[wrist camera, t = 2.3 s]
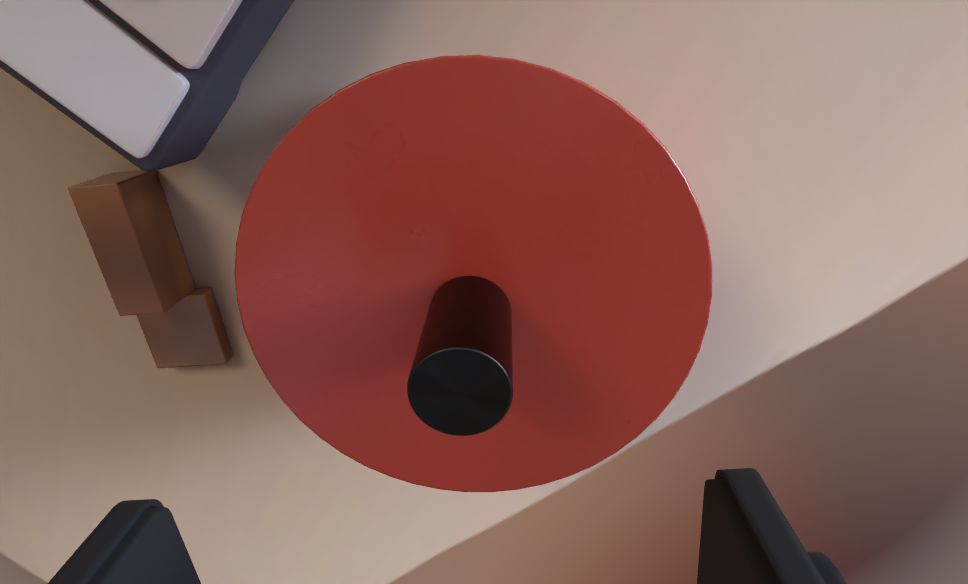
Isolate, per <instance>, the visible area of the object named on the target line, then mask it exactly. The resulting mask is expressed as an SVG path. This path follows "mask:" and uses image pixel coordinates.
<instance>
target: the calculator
mask: <svg viewBox="0 0 968 584" xmlns="http://www.w3.org/2000/svg"><path fill="white" fill-rule="evenodd" d="M292 2H293V0H0V67H1V68H2V69H3V70H5V71H6V72H7V73H9V74H10V75H12V76H13V77H14V78H16V79H17V80H19V81H20V82H21V83H23V84H24V85H25V86H27V87H28V88H30V89H31V90H32V91H34V92H35V93H36V94H38V95H39V96H41V97H42V98H43V99H45V100H46V101H48V102H49V103H50V104H52V105H53V106H54V107H56V108H57V109H59V110H60V111H61V112H63V113H64V114H65V115H67V116H68V117H70V118H71V119H72V120H74V121H75V122H77V123H78V124H79V125H81V126H82V127H83V128H85V129H86V130H88V131H89V132H90V133H92V134H93V135H94V136H96V137H97V138H99V139H100V140H101V141H103V142H104V143H105V144H107V145H108V146H110V147H111V148H112V149H114V150H115V151H117V152H118V153H119V154H121V155H122V156H123V157H125V158H126V159H128V160H129V161H130V162H132V163H133V164H134V165H136V166H137V167H139V168H140V169H142V170H144V171H147V172H152V171H156V170H159V169H163V168H166V167H169V166H173V165H176V164H179V163H183V162H186V161H189V160H192V159H195V158H196V157H197V156H198V155H199V154H200V152H201V151H202V149H203V148H204V146H205V145H206V143H207V142H208V140H209V138H210V137H211V135H212V134H213V132H214V131H215V129H216V128H217V126H218V125H219V123H220V121H221V120H222V118H223V117H224V115H225V114H226V112H227V111H228V109H229V108H230V106H231V104H232V103H233V101H234V100H235V98H236V96H237V93H238V90H239V87H240V84H241V81H242V79H243V77H244V76H245V74H246V73H247V71H248V70H249V68H250V67H251V65H252V63H253V62H254V60H255V59H256V57H257V56H258V54H259V53H260V51H261V50H262V48H263V46H264V45H265V43H266V42H267V40H268V39H269V37H270V36H271V34H272V33H273V31H274V29H275V28H276V26H277V25H278V23H279V22H280V20H281V19H282V17H283V16H284V14H285V12H286V11H287V9H288V8H289V6H290V5H291V3H292Z"/></svg>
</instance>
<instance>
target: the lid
mask: <svg viewBox="0 0 968 584" xmlns="http://www.w3.org/2000/svg"><path fill="white" fill-rule="evenodd" d="M235 281H236V291H237V302H238V306H239V310H240V314H241V319H242V323H243V327H244V330H245V333H246V335H247V338H248V341H249V343H250V346H251V348H252V351H253V354H254V356H255V358H256V359H257V361H258V363H259V365H260V367H261V369H262V371H263V372H264V374H265V376H266V378H267V379H268V381H269V382H270V384H271V385H272V386H273V388H274V389H275V391H276V392H277V394H278V395H279V396H280V398H281V399H282V400H283V402H284V403H285V404H286V405H287V406H288V407H289V408H290V409H291V410H292V412H293V413H294V414H295V415H296V416H297V417H298V418H299V419H300V420H301V421H302V422H303V423H304V424H305V425H306V426H307V427H309V428H310V429H311V430H312V431H313V432H314V433H315V434H317V435H318V436H319V437H320V438H321V439H323V440H324V441H326V442H327V443H328V444H330V445H331V446H333V447H334V448H335V449H337V450H338V451H340V452H341V453H343V454H345V455H346V456H348V457H350V458H352V459H354V460H355V461H357V462H359V463H361V464H363V465H364V466H367V467H369V468H371V469H374V470H376V471H378V472H381V473H383V474H385V475H388V476H390V477H394V478H397V479H400V480H403V481H406V482H410V483H413V484H417V485H422V486H427V487H431V488H436V489H443V490H452V491H462V492H497V491H507V490H517V489H522V488H527V487H532V486H537V485H542V484H546V483H549V482H552V481H555V480H559V479H562V478H565V477H568V476H571V475H573V474H575V473H578V472H580V471H582V470H584V469H587V468H589V467H591V466H593V465H595V464H597V463H599V462H600V461H602V460H604V459H606V458H607V457H609V456H611V455H613V454H614V453H616V452H617V451H619V450H620V449H621V448H623V447H624V446H625V445H627V444H628V443H629V442H631V441H632V440H634V439H635V438H636V437H637V436H639V435H640V434H641V433H642V432H643V431H644V430H645V429H646V428H647V427H648V426H649V425H650V424H651V423H652V422H653V421H654V420H656V419H657V417H658V416H659V415H660V414H661V413H662V411H663V410H664V409H665V408H666V407H667V405H668V404H669V403H670V402H671V400H672V399H673V398H674V396H675V395H676V393H677V392H678V390H679V389H680V387H681V385H682V384H683V382H684V381H685V379H686V378H687V376H688V374H689V372H690V370H691V368H692V365H693V363H694V361H695V359H696V357H697V354H698V352H699V350H700V347H701V343H702V340H703V337H704V333H705V330H706V327H707V324H708V317H709V311H710V304H711V297H712V261H711V254H710V247H709V240H708V234H707V231H706V228H705V224H704V221H703V218H702V215H701V211H700V208H699V205H698V203H697V201H696V199H695V197H694V194H693V192H692V190H691V188H690V186H689V184H688V182H687V180H686V178H685V176H684V174H683V173H682V171H681V170H680V168H679V167H678V165H677V164H676V162H675V161H674V159H673V158H672V157H671V155H670V154H669V152H668V151H667V149H666V148H665V147H664V146H663V145H662V144H661V142H660V141H659V140H658V139H657V138H656V137H655V136H654V135H653V134H652V133H651V132H650V130H649V129H648V128H647V127H646V126H645V125H644V124H643V123H642V122H641V121H639V120H638V119H637V118H636V117H634V116H633V115H632V114H631V113H630V112H628V111H627V110H626V109H625V108H623V107H622V106H621V105H620V104H618V103H617V102H616V101H614V100H613V99H611V98H609V97H608V96H606V95H604V94H603V93H601V92H599V91H598V90H596V89H594V88H593V87H591V86H589V85H588V84H586V83H584V82H582V81H580V80H577V79H575V78H572V77H570V76H567V75H565V74H563V73H560V72H558V71H555V70H553V69H551V68H547V67H544V66H540V65H536V64H532V63H528V62H524V61H520V60H516V59H510V58H500V57H491V56H482V55H466V56H441V57H435V58H430V59H424V60H419V61H413V62H407V63H403V64H400V65H397V66H394V67H391V68H388V69H385V70H382V71H379V72H376V73H373V74H370V75H368V76H366V77H364V78H362V79H360V80H358V81H356V82H354V83H352V84H350V85H348V86H346V87H344V88H342V89H340V90H338V91H337V92H336V93H334V94H333V95H331V96H330V97H329V98H327V99H326V100H324V101H323V102H322V103H320V104H319V105H317V106H316V107H314V108H313V109H312V110H310V111H309V112H308V113H307V114H306V115H305V116H304V117H303V118H302V119H301V120H300V121H299V122H298V123H297V124H296V125H295V126H294V127H293V128H292V129H291V130H290V131H289V132H288V133H287V134H286V135H285V136H284V138H283V139H282V140H281V142H280V143H279V144H278V145H277V147H276V148H275V149H274V151H273V152H272V153H271V155H270V156H269V157H268V159H267V160H266V162H265V164H264V166H263V168H262V169H261V171H260V173H259V175H258V177H257V179H256V180H255V182H254V184H253V186H252V189H251V191H250V194H249V197H248V200H247V202H246V205H245V208H244V211H243V214H242V218H241V223H240V228H239V233H238V238H237V243H236V259H235Z"/></svg>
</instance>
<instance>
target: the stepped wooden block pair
mask: <svg viewBox="0 0 968 584" xmlns="http://www.w3.org/2000/svg"><path fill="white" fill-rule="evenodd" d="M68 190H69V192H70V195H71V197H72V200H73V202H74V205H75V207H76V210H77V212H78V214H79V217H80V219H81V222H82V224H83V227H84V229H85V232H86V234H87V237H88V239H89V242H90V244H91V246H92V249H93V251H94V254H95V256H96V259H97V261H98V264H99V266H100V269H101V271H102V274H103V276H104V278H105V281H106V283H107V286H108V288H109V291H110V293H111V296H112V298H113V301H114V303H115V305H116V308H117V310H118V313H119V315H120V316H125V315H137V317H138V320H139V322H140V325H141V327H142V330H143V332H144V335H145V338H146V340H147V343H148V345H149V348H150V350H151V353H152V355H153V358H154V360H155V363H156V366H157V368H169V367H184V366H199V365H214V364H226V363H228V362H229V360H230V359H231V358H232V357H233V354H232V351H231V348H230V345H229V341H228V338H227V335H226V332H225V329H224V326H223V323H222V320H221V317H220V314H219V311H218V308H217V304H216V301H215V298H214V295H213V292H212V289H211V288H203V289H195V285H194V282H193V279H192V276H191V273H190V270H189V267H188V264H187V261H186V258H185V255H184V252H183V249H182V246H181V244H180V241H179V238H178V235H177V232H176V229H175V226H174V223H173V220H172V217H171V214H170V211H169V208H168V205H167V202H166V199H165V196H164V193H163V190H162V187H161V184H160V181H159V178H158V175H157V172H156V171H152V172H147V171H144V170H141V171H130V172H120V173H111V174H108V175H104V176H101V177H98V178H95V179H92V180H89V181H86V182H83V183H80V184H77V185H74V186H71V187H69V188H68Z"/></svg>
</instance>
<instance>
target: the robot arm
mask: <svg viewBox="0 0 968 584" xmlns="http://www.w3.org/2000/svg"><path fill="white" fill-rule="evenodd" d="M48 584H201V582H200V580H199V578H198V575H197V573H196V570H195V568H194V566H193V563H192V561H191V559H190V556H189V554H188V551H187V549H186V547H185V544H184V542H183V540H182V537H181V535H180V532H179V530H178V528H177V525H176V523H175V521H174V518H173V516H172V513H171V512H170V510H169V509H168V508H166V507H164V506H163V505H162V503H161V502H160V501H158V500H156V499H150V500H130V501H122V502H120V503H118V504H117V505H116V506H114V507H113V508H112V509H111V511H110V512H109V513H108V514H107V515H106V516H105V518H104V519H103V520H102V521H101V522H100V523H99V525H98V526H97V527H96V528H95V529H94V530H93V532H92V533H91V534H90V535H89V536H88V537H87V539H86V540H85V541H84V542H83V543H82V544H81V545H80V547H79V548H78V549H77V550H76V551H75V552H74V554H73V555H72V556H71V557H70V558H69V559H68V561H67V562H66V563H65V564H64V565H63V566H62V568H61V569H60V570H59V571H58V572H57V573H56V575H55V576H54V577H53V578H52V579H51V580H50V581H49V583H48ZM697 584H847V583H846V582H845V580H844V579H843V577H842V576H841V574H840V573H839V571H838V569H837V568H836V567H835V566H834V564H833V563H832V561H831V560H830V559H829V558H828V557H827V556H825V555H824V554H823V553H821V552H806V550H805V549H804V547H803V545H802V544H801V542H800V540H799V539H798V537H797V536H796V534H795V533H794V530H793V529H792V527H791V526H790V524H789V522H788V521H787V519H786V517H785V516H784V514H783V512H782V511H781V509H780V508H779V506H778V504H777V503H776V501H775V499H774V498H773V496H772V494H771V493H770V491H769V489H768V488H767V486H766V485H765V483H764V481H763V479H762V478H761V476H760V475H759V473H758V472H757V471H756V470H755V469H753V468H745V469H726V470H717V472H716V475H715V479H710V480H706V482H705V488H704V500H703V513H702V526H701V539H700V551H699V565H698V577H697Z"/></svg>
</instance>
